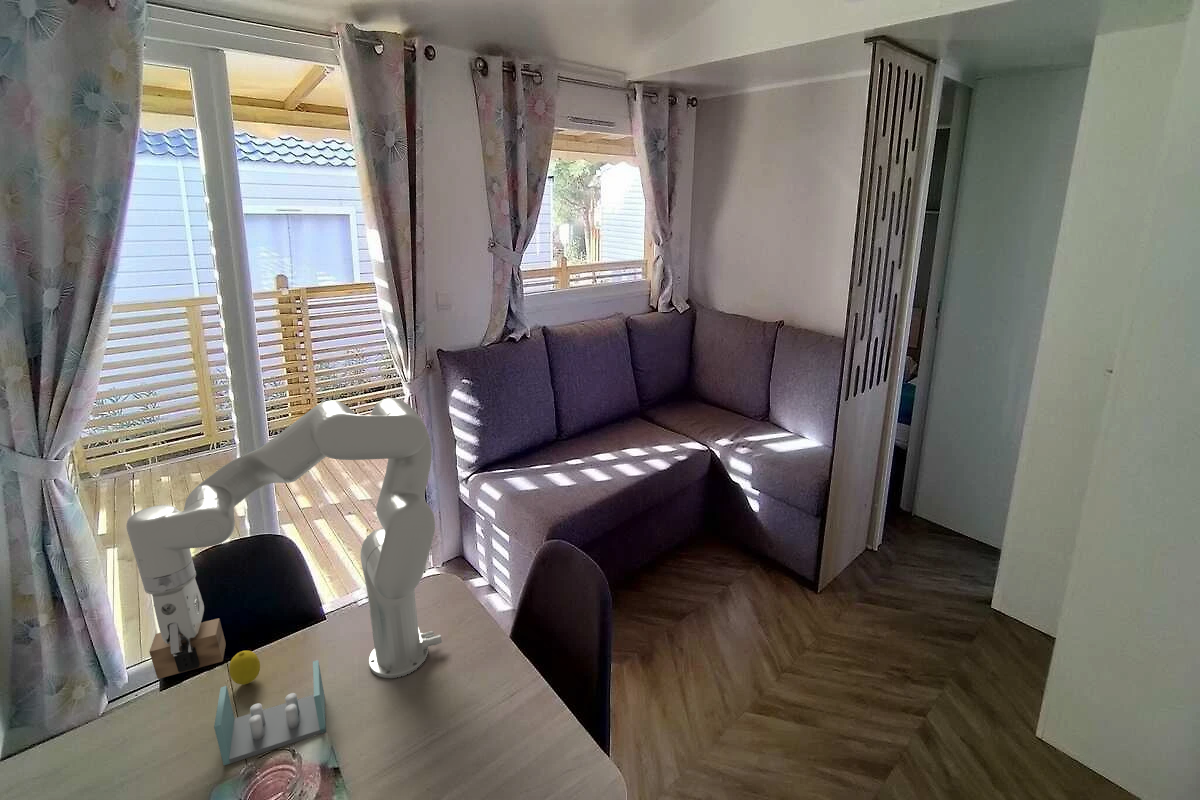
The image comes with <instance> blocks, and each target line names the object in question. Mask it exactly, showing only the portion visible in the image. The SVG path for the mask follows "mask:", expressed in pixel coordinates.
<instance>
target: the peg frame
mask: <svg viewBox="0 0 1200 800" xmlns="http://www.w3.org/2000/svg"><path fill="white" fill-rule="evenodd" d="M312 669H313V670H312V673H313V674H312V677H313V683H312V684H313V694H311V695H307V696H304V697H301V698H298V695H297V693H294V692H291V693H288V694H287V695H286V696H285V698H284V700H285V702H284V703H281V704H278V705H275V706H271V707H268V708H265V709H263V705H262V703H255V704H253V705H251V706H250V708H249V711H250V713H248V714H244V715H241V716H238V717H235V715H234V710H233V706H232V702H231V699H230V693H229V689H228V686H227V685H224V686H221V687H219V689H220V690H219V694H218V695H219V696H218V701H217V708H216V713H215V719H214V725H213V728H214V732H215V737H216V740H217V744H218V748H219V752H220V756H221V760H222V764H223V766H227V765H230V764H233V763H236V762H239V761H242V760H244V759H248V758H251V757H255V756H257V755H260V754H263V753H266V752H268V751H273V750H276V749H278V748H279V749H280V748H281V747H284V746H288V745H290V744H294V743H297V742H300V741H302V740H306V739H309V738H312V737H315V736H318V735H321V734H325V733H326V732H327V721H326V718H327V717H326V699H325V690H324V686H323V679H322V673H321V667H320V662H319V659H317V660H313V661H312Z"/></svg>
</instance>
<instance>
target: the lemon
mask: <svg viewBox="0 0 1200 800" xmlns="http://www.w3.org/2000/svg"><path fill="white" fill-rule="evenodd" d="M260 671H261V662H260V659H259V657H258V655H257V654H256V653H255V652H253V651H252V650H242V651H239V652H237V653H236V654H235V655H233V657H232V658H231V660H230V662H229V667H228V672H229V676H230V678H231V680H232V681H233V682H234V683H235V684H238V685H243V686H244V685H248V684H250V683H252V682H253V681H255V679H256V678H258V676H259V673H260Z"/></svg>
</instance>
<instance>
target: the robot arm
mask: <svg viewBox="0 0 1200 800" xmlns="http://www.w3.org/2000/svg"><path fill="white" fill-rule="evenodd" d="M432 455H433V454H432V444H431V439H430V435H429V431H428V430H427V426H426V423H424V421H423V420H422V418H421V416H420V415H419V414H418V413H417V412H416V410H415V409H414V408H413V407H412V406H410V405H409V403H406V402H405V401H403V400H401V399H400V398H395V397H388V398H383V399H381V400H379V401H378V402H377V403H376V404H375V406H373V409H372V410H371V414H369V415H368V414H365V415H364V414H356V413H355V412H354V411H353V410H352V408H350V407H349V406H348V405H346V404H345V403H343V402H341V401H338V400H330V399H329V400H325V401H322V402H321V403H318V404H317V405H316V406H314V407H313V408H311V409H309V411H306V413H305V414H303V415H302V416H301V417H299V418H297V420H295V421H294V422H293V423H292V424H290V425H289V426H288V427H286V428H285V429H284V430H282V431H281V432H280V433H278V434H277V435H275V436H274V437H273V438H272V439H270V440H269V441H268V442H267V443H265V444H264V445H262V446H261V447H259V448H257V449H255V450H252V451H250V452H247V453H246V454H243V455H241V456H239V457H237V458H234V460H231V461H229V462H228V463H226V464H224V465H223V466H222V467H221V468H219V469H218V470H217V471H215V472H213V473H212V474H211V475H209V477H207V478H205V480H203V481H202V482H201V483H199V484H198V485H197V486H196V487H195V488H194V489H193V490H191V492H190V493H189V495H187V498H186V500H185V502H184V509H183V510H182V511H181V510H179V509H178V508H177V507H175V506H173V505H168V504H160V505H153V506H148V507H146V508H143V509H141V510H138V511H137V512H135V513H134V514H132V515H131V516H130V517H129V518H128V520H127V522H126V532H127V534H128V535H127V536H128V538H129V542H130V545H131V547H132V549H131V550H132V552H133V555H134V559H135V562H136V565H137V568H138V573H139V575H140V580H141V582H142V586H143V590H144V591H145V593H146V594H147V595H148V594H149V595H152V602H153V607H154V612H155V616H156V621H157V624H158V629H159V631H160V632H159V633H161V636H162V639H163V641H164V642H165V643H166V644H169V643H170V647H171V654H173V656H174V658H175V662H176V665H177V669H178V672H182V673H185V672H188V670H189V671H192V670H191V669H193V670H196V669H199V668H198V667H199V665H200V663H199V660H198V656H197V652H196V649H195V648H193V646H192V640H191V638H194V637H195V636H196V635H197V634H198V631H199V628H200V624H201V623H202V621H203V617H204V612H205V605H204V601H203V598H202V594H201V592H200V589H199V585H198V583H197V580H196V577H197V571H196V568H195V564H194V561H193V557H192V553H191V549H198V548H207V547H213V546H218V545H219V544H222V543H223V542H226V541H227V540H228V539H230V537H231V536H232V534H233V533H234V530H235V526H236V523H235V522H236V521H235V509H234V508H235V507H236V506H237V505H238V504H239V503H241V502H242V501H243V500H245V499H246V498H247V497H249V496H250V495H251V494H253V493H254V492H256V491H257V490H259V489H261V488H263V487H265V486H268V485H270V484H276V483H277V484H280V483H281V484H287V483H289V484H291V483H294V482H296V481H297V480H299V479H301V478H302V477H303V476H304V475H305V474H307V472H309V471H310V470H311V469H312V468H314V467H315V466H316V465H317V464H319V463H320V462H321V461H323V460H324V459H325V458H328V459H332V460H341V461H360V460H361V461H363V460H364V461H367V460H368V461H369V460H387V464H386V470H385V475H384V478H383V481H382V485H381V489H380V493H379V497H378V500H377V504H376V509H375V511H376V516H377V519H378V521H379V523H380V525H381V526H382V528H381V527H380V528H377V529H376V530H373V531H372V532H370V533H369V534H368V535H367V536H366V538H365V539H364V540H363V542H362V545H361V547H360V563H361V569H362V572H363V577H364V582H365V588H366V595H367V602H368V609H369V616H370V624H371V630H372V632H371V633H372V639H373V646H374V649H372V651H371V653H370V655H369V658H368V667H369V669H370V672H372V673H373V674H374V675H376V676H377V677H379V678H384V679H397V677H398V678H401V676H402V677H406V676H407V674H408V675H410V674H412V673H414V672H415V671H416V670H418V669H419V668H420V667H421V666H422V665H423V664H424V663H425V662H424V661H426V660H427V658H428V656H427V654H428V655H429V648H428V647H431V646H432V647H433V646H437V645H439V644H440V645H441V644H442V643H443V641H442V636H441V634H437V635H435V634H434V630H430V631H427V632H424V633H423V632H421V631H420V627H419V621H418V612H417V602H416V592H415V589H416V588H417V587H418V585H419V584H420V582H421V580H422V578H423V575H424V571H425V569H426V565H427V562H428V561H427V560H428V558H429V555H430V551H431V547H432V543H433V540H434V536H435V530H436V519H435V514H434V512H433V510H432V508H431V507H430V505H429V504H428V503H427V501H426V498H425V495H426V490H427V489H426V488H427V484H428V480H429V474H430V470H431V467H432V466H431V465H432ZM181 633H182V634H183V635H181V636H180V634H181ZM182 640H186V643H187V645H185V644H184V645H181V641H182ZM426 657H427V658H426ZM425 659H426V660H425ZM423 662H424V663H423ZM422 663H423V664H422ZM421 664H422V665H421ZM420 665H421V666H420ZM419 666H420V667H419ZM418 667H419V668H418ZM195 668H196V669H195ZM417 668H418V669H417ZM415 669H416V670H415ZM414 670H415V671H414ZM184 671H185V672H184ZM413 671H414V672H413ZM411 672H412V673H411Z"/></svg>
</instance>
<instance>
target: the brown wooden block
mask: <svg viewBox="0 0 1200 800" xmlns="http://www.w3.org/2000/svg"><path fill="white" fill-rule="evenodd" d="M181 635H183V634H182V633H181V634H180V636H181ZM191 640H192V646H193V648H195V649H196V652H197V656H198V660H199V663H200V665H199V667H198V668H195V669H191V670H188V671H192V670H196V669H199V668H203V667H207V666H210V665H214V664H217V663H222V662H224V657H225V651H226V650H225V649H226V639H225V636H224V630H223V628H222V623H221V619H220V618H214V619H211V620H205V621H203V622H202V621H201V624H200V628H199V631H198V634H197V635H196V636H195V637H194V638H191ZM151 643H152V644H151V647H150V649H149V656H150V658H151V662H152V664H153V668H154V669H153V670H154V671H155V675H156V678H157V680H158V679H159V680H160V679H163V678H166V677H170V676H174V675H177V674H181V673H185V672H186V671H184V672H178V669H177V665H176V662H175V658H174V656H173V654H171V647H170V643H169V644H166V643H165V642H164V641H163V639H162V636H161V633H160V632H157V633H155V634H154V637H153V640H152V642H151ZM184 644H185V645H187V643H186V640H182V641H181V645H184ZM188 671H187V672H188Z"/></svg>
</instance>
